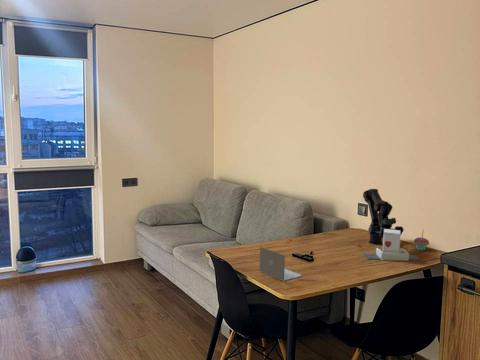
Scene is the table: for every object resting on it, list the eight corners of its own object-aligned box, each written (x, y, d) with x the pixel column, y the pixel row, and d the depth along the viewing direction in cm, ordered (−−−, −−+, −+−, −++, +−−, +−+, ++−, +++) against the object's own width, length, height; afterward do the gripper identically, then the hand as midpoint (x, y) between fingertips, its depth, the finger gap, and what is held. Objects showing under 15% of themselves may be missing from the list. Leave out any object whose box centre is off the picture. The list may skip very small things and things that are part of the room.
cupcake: (415, 246, 269) (416, 227, 268) (429, 248, 265) (431, 229, 263) (411, 249, 262) (413, 230, 261) (426, 252, 257) (428, 232, 256)
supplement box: (381, 258, 244) (383, 231, 242) (382, 253, 252) (383, 228, 250) (399, 259, 241) (400, 233, 239) (399, 255, 249) (400, 230, 247)
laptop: (302, 276, 212) (303, 250, 211) (283, 282, 204) (284, 255, 203) (277, 267, 226) (278, 242, 225) (259, 271, 219) (259, 246, 217)
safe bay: (363, 254, 250) (364, 247, 250) (414, 255, 250) (414, 248, 249) (368, 259, 240) (369, 252, 240) (421, 260, 240) (421, 253, 239)
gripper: (371, 212, 254) (375, 235, 244) (403, 213, 254) (409, 236, 244) (367, 222, 263) (371, 245, 253) (398, 223, 263) (403, 246, 253)
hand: (388, 243), depth 251 cm, fingers closed
